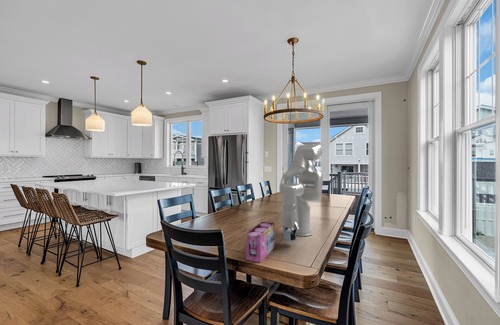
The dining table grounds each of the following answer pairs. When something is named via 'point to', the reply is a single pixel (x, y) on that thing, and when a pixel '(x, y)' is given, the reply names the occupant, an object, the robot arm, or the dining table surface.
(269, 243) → the gum box
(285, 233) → the slate cube
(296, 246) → the dining table surface
